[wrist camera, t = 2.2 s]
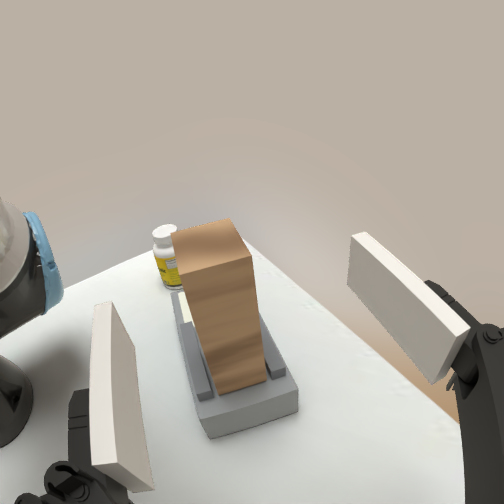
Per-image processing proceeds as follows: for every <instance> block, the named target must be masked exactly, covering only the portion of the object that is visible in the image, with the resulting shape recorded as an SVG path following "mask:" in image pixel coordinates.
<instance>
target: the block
mask: <svg viewBox="0 0 504 504" xmlns="http://www.w3.org/2000/svg"><path fill="white" fill-rule="evenodd" d="M170 234H171V239H172V244H173V249H174V254H175V258H176V263H177V267H178V272H179V276H180V279H181V283H182V286H183V289H184V293H185V296H186V299H187V303H188V306H189V309H190V312H191V316H192V319H193V322H194V325H195V328H196V331H197V334H198V337H199V340H200V343H201V346H202V349H203V352H204V355H205V358H206V361H207V364H208V367H209V370H210V373H211V376H212V378H213V381H214V384H215V387H216V390H217V392H218V395H221V394H224V393H228V392H231V391H235V390H238V389H241V388H245V387H248V386H251V385H254V384H257V383H260V382H263V381H266V380H267V375H266V367H265V359H264V351H263V343H262V335H261V327H260V319H259V311H258V303H257V294H256V286H255V278H254V270H253V262H252V255H251V254H250V252H249V250H248V249H247V247H246V245H245V244H244V242H243V240H242V238H241V237H240V235H239V233H238V232H237V230H236V228H235V227H234V225H233V224H232V222H231V220H230V219H229V218H227V219H224V220H219V221H215V222H211V223H207V224H203V225H199V226H195V227H191V228H188V229H184V230H180V231H176V232H172V233H170Z"/></svg>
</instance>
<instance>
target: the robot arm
mask: <svg viewBox="0 0 504 504" xmlns="http://www.w3.org/2000/svg"><path fill="white" fill-rule="evenodd" d="M347 285H348V286H349V287H350V288H351V290H352V291H353V292H354V293H355V294H356V295H357V296H358V298H359V299H360V300H361V301H362V302H363V303H364V305H365V306H366V307H367V308H368V309H369V310H370V311H371V313H372V314H373V315H374V316H375V317H376V318H377V320H378V321H379V322H380V323H381V324H382V326H383V327H384V328H385V329H386V330H387V331H388V333H389V334H390V335H391V336H392V337H393V339H394V340H395V341H396V342H397V343H398V344H399V346H400V347H401V348H402V349H403V351H404V352H405V353H406V354H407V355H408V357H409V358H410V359H411V360H412V362H413V363H414V364H415V365H416V367H417V368H418V369H419V370H420V371H421V373H422V374H423V375H424V376H425V378H426V379H427V380H428V381H429V383H430V384H431V385H433V384H434V383H436V382H437V381H439V380H440V379H442V378H444V377H445V376H446V374H447V372H448V371H449V369H450V367H452V368H453V370H454V371H455V372H454V374H453V376H452V377H451V379H450V380H449V382H448V384H447V387H446V390H447V391H449V389H450V388H451V386H452V385H453V383H454V386H453V389H452V390H455V394H456V400H457V407H458V413H459V421H460V429H461V438H462V448H463V460H464V477H465V504H504V328H501V329H500V328H499V327H497V326H495V325H493V324H480V323H479V322H478V321H477V320H476V319H475V318H474V317H473V316H472V315H471V314H470V313H469V312H467V310H466V309H465V308H463V307H462V306H461V305H460V304H459V303H458V302H457V301H455V299H454V298H453V297H452V296H451V295H448V293H447V292H446V291H445V290H444V289H443V288H442V287H441V286H440V285H438V284H436V283H434V282H432V281H430V280H427V281H425V282H422V281H421V280H420V279H419V278H418V277H417V276H416V275H415V274H414V273H413V272H412V271H410V270H409V269H408V268H407V267H406V266H405V265H404V264H403V263H401V262H400V261H399V260H398V259H397V258H396V257H395V256H393V255H392V254H391V253H390V252H389V251H388V250H387V249H385V248H384V247H383V246H382V245H381V244H379V243H378V242H377V241H376V240H375V239H374V238H372V237H371V236H370V235H369V234H367V233H366V232H362V233H358V234H355V235H351V245H350V257H349V269H348V280H347ZM63 293H64V290H63V284H62V281H61V277H60V274H59V271H58V268H57V265H56V263H55V262H54V257H53V253H52V250H51V247H50V245H49V242H48V239H47V237H46V234H45V232H44V229H43V227H42V224H41V222H40V220H39V218H38V216H37V215H36V214H35V213H34V212H28V213H21V211H20V210H19V209H18V208H17V207H16V206H14V205H13V204H11V203H9V202H6V201H2V200H1V198H0V339H1V338H3V337H4V336H6V335H7V334H9V333H11V332H12V331H14V330H16V329H17V328H19V327H21V326H22V325H24V324H26V323H27V322H29V321H31V320H32V319H34V318H36V317H38V316H39V315H44V314H46V312H47V311H48V310H49V309H50V308H52V307H53V306H55V305H57V304H58V303H59V302H60V301H61V300H62V297H63ZM32 400H33V393H32V387H31V384H30V381H29V379H28V378H27V377H26V375H25V374H24V373H23V372H22V371H21V369H20V368H19V367H18V366H17V365H15V364H14V363H12V362H11V361H9V360H8V359H6V358H5V357H3V356H1V355H0V447H2V446H4V445H6V444H7V443H9V442H10V441H12V440H13V439H14V438H15V437H16V436H17V435H18V434H19V432H20V431H21V430H22V428H23V427H24V425H25V423H26V421H27V419H28V417H29V414H30V411H31V407H32ZM68 418H69V420H68V429H69V431H68V460H69V462H68V461H58V462H56V463H54V464H52V465H51V466H50V467H49V468H48V469H47V471H46V474H45V476H44V486H45V489H46V492H47V493H48V494H45V495H43V496H40V497H38V496H36V495H33V494H31V493H23V494H22V495H20V496H18V498H17V499H16V501H15V504H134V503H133V502H132V501H131V500H129V499H128V494H127V489H128V490H130V491H131V492H133V493H137V492H144V491H151V490H155V488H154V483H153V478H152V473H151V468H150V463H149V457H148V452H147V446H146V439H145V433H144V426H143V419H142V412H141V404H140V396H139V387H138V377H137V367H136V355H135V346H134V345H133V343H132V341H131V339H130V337H129V335H128V333H127V331H126V329H125V327H124V325H123V323H122V321H121V319H120V317H119V315H118V313H117V311H116V309H115V307H114V305H113V302H112V301H110V302H106V303H102V304H98V305H94V315H93V326H92V339H91V356H90V386H89V388H88V389H83V390H78V391H74V393H73V395H72V398H71V400H70V402H69V412H68Z"/></svg>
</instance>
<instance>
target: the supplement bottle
mask: <svg viewBox="0 0 504 504" xmlns="http://www.w3.org/2000/svg"><path fill="white" fill-rule="evenodd" d="M176 231H178V230H177V227H176V226H175V225H172V224H166V225H162V226H160V227H158V228H156V229H155V230H154V231H153V233H152V235H153V239H154V242H155V244H154V246H153V253H154V257H155V260H156V263H157V266H158V269H159V272H160V275H161V278H162V280H163V283H164V285H165V286H166V287H167V288H169V289H181V288H183V286H182V283H181V279H180V276H179V272H178V267H177V263H176V258H175V254H174V249H173V244H172V239H171V234H170V233H172V232H176Z"/></svg>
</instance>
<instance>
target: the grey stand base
mask: <svg viewBox="0 0 504 504" xmlns="http://www.w3.org/2000/svg"><path fill="white" fill-rule="evenodd" d="M171 298H172V304H173V309H174V314H175V319H176V324H177V329H178V334H179V338H180V343H181V348H182V352H183V357H184V361H185V365H186V370H187V374H188V378H189V382H190V386H191V390H192V394H193V398H194V402H195V406H196V410H197V414H198V417H199V420H200V422H201V424H202V426H203V428H204V430H205V431H206V433H207V435H208V437H209V438H210V439H213V438H217V437H220V436H224V435H228V434H231V433H235V432H238V431H241V430H245V429H248V428H251V427H254V426H257V425H260V424H263V423H266V422H269V421H272V420H275V419H278V418H281V417H284V416H287V415H289V414H292V413H295V412H298V387H297V385H296V383H295V381H294V379H293V377H292V375H291V373H290V372H289V370H288V368H287V366H286V364H285V362H284V360H283V358H282V356H281V354H280V352H279V350H278V348H277V346H276V344H275V343H274V341H273V339H272V337H271V335H270V333H269V331H268V329H267V327H266V325H265V323H264V321H263V319H262V317H261V315H260V313H259V319H260V327H261V335H262V343H263V351H264V359H265V367H266V375H267V380H266V381H263V382H260V383H257V384H254V385H251V386H248V387H245V388H241V389H238V390H235V391H231V392H228V393H224V394H221V395H218V392H217V390H216V387H215V384H214V381H213V378H212V376H211V373H210V370H209V367H208V364H207V361H206V358H205V355H204V352H203V349H202V346H201V343H200V340H199V337H198V334H197V331H196V328H195V325H194V322H193V319H192V316H191V312H190V309H189V306H188V303H187V299H186V296H185V293H184V290H181V291H177V292H174V293H171Z"/></svg>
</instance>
